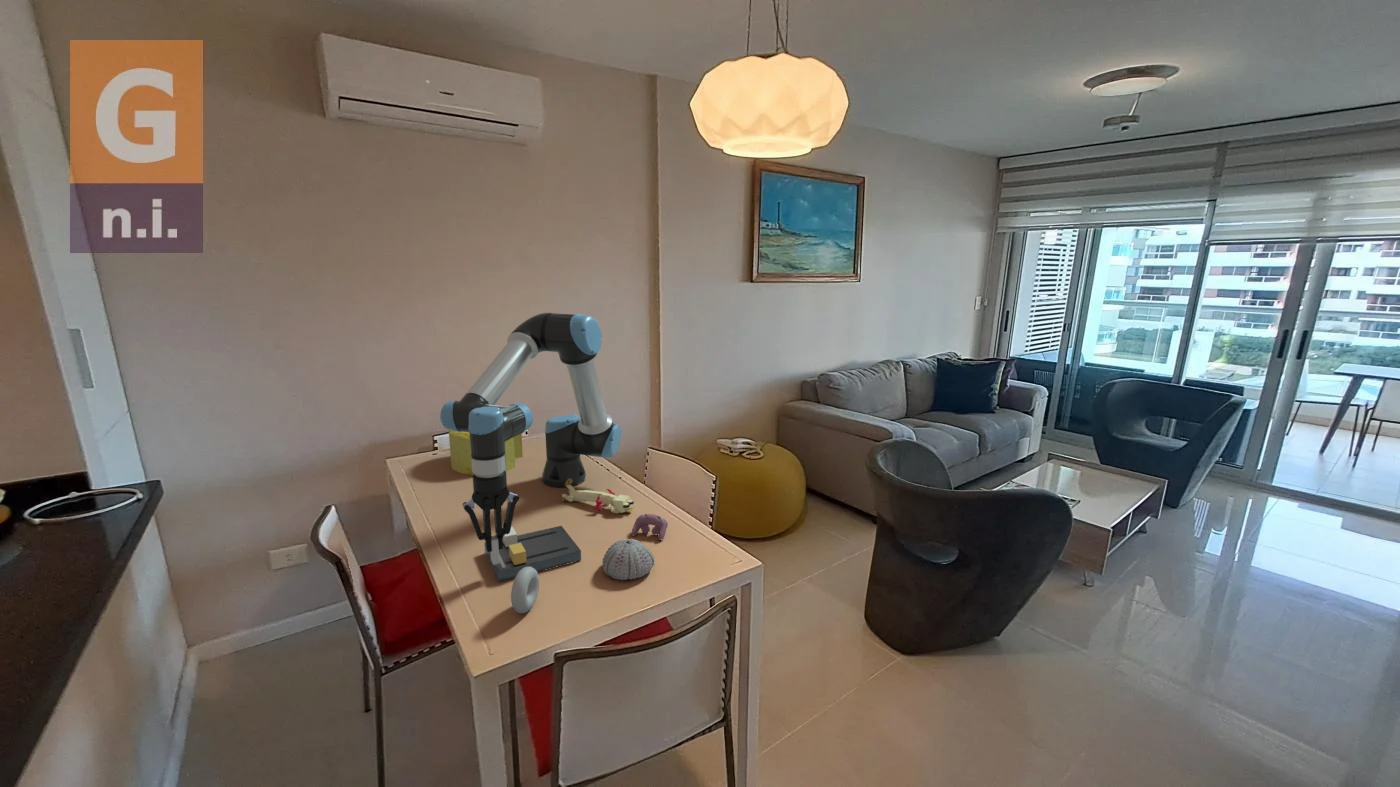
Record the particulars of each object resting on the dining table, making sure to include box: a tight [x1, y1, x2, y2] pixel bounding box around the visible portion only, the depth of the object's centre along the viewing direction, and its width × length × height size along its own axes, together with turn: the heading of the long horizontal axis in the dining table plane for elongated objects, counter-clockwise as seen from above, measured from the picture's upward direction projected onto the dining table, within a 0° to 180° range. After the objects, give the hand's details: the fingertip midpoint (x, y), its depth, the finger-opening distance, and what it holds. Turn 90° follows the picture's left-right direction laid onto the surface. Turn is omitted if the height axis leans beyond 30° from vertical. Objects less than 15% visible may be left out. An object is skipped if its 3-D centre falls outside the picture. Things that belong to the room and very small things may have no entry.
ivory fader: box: [503, 526, 518, 547], centre depth 150 cm, size 3×5×3 cm, turn 32°
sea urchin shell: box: [601, 538, 656, 581], centre depth 143 cm, size 13×14×8 cm
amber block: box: [509, 543, 526, 565], centre depth 141 cm, size 3×5×3 cm, turn 32°
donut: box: [510, 567, 540, 614], centre depth 126 cm, size 10×3×10 cm, turn 173°
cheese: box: [448, 429, 524, 476], centre depth 214 cm, size 26×26×15 cm
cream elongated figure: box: [560, 478, 635, 514], centre depth 180 cm, size 10×9×25 cm
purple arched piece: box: [631, 513, 669, 541], centre depth 162 cm, size 10×5×7 cm, turn 73°
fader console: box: [484, 525, 582, 583], centre depth 149 cm, size 21×16×3 cm
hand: (495, 561), depth 139 cm, fingers closed
